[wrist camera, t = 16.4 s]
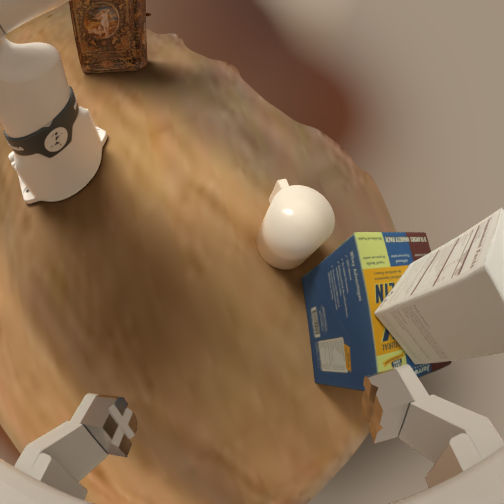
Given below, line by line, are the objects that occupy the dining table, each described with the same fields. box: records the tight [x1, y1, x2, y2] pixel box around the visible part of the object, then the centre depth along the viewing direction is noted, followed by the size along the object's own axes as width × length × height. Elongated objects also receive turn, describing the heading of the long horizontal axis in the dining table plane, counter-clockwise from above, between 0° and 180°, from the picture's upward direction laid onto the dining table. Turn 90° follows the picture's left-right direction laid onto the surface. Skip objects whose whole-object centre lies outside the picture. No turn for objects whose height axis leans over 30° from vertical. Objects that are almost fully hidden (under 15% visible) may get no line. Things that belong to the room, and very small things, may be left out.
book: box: [69, 0, 148, 73], centre depth 39 cm, size 16×6×25 cm, turn 87°
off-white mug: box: [256, 179, 335, 270], centre depth 37 cm, size 10×8×9 cm
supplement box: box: [374, 208, 504, 365], centre depth 18 cm, size 7×7×13 cm
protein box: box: [302, 232, 451, 391], centre depth 31 cm, size 10×15×16 cm
